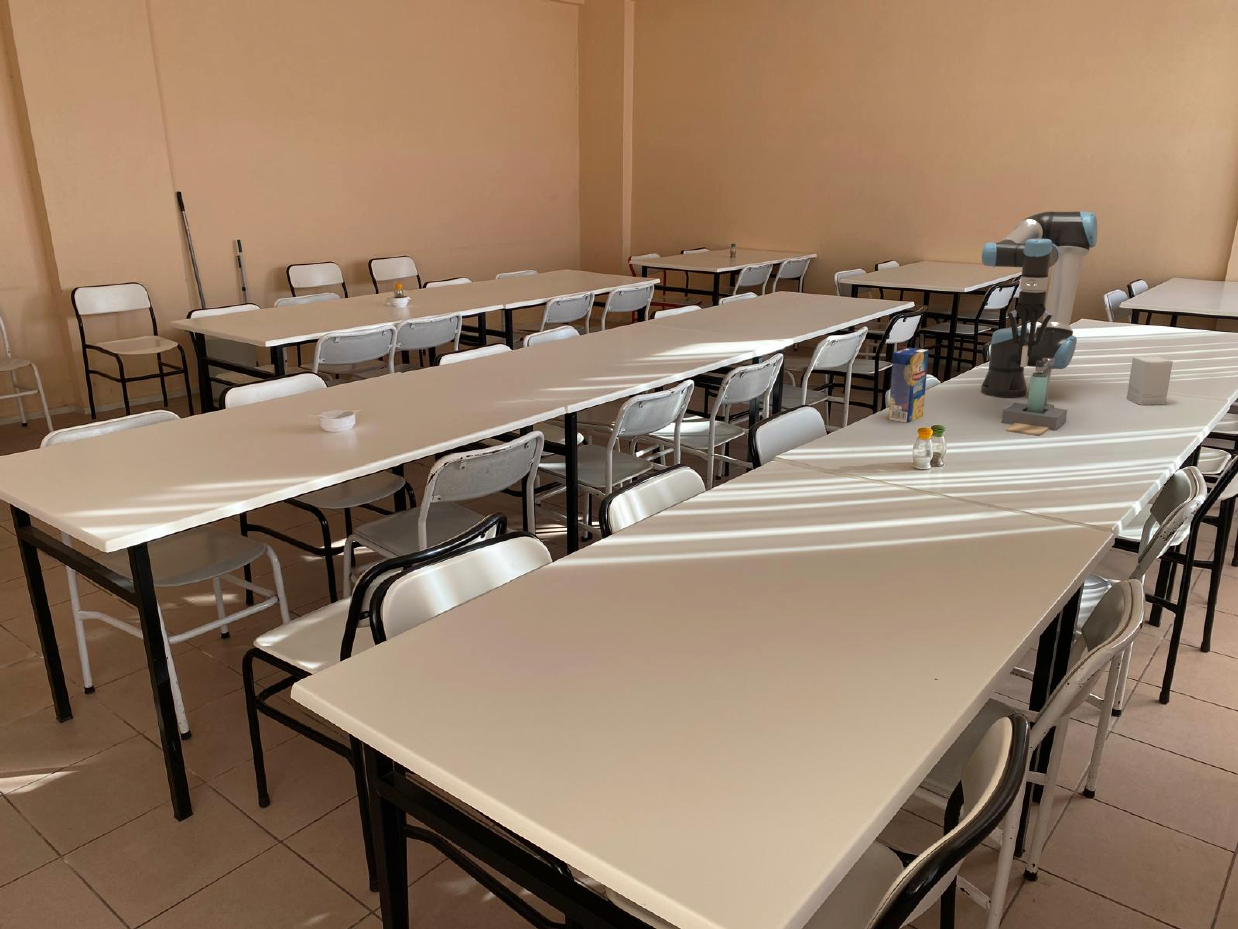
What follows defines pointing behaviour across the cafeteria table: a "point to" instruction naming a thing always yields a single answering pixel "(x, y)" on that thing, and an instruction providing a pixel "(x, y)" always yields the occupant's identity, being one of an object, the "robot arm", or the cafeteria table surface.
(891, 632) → the cafeteria table surface
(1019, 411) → the socket block
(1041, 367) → the clip
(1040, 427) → the cork mat
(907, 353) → the blue food box
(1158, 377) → the supplement box
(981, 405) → the cafeteria table surface
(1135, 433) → the cafeteria table surface
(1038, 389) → the plug
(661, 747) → the cafeteria table surface
